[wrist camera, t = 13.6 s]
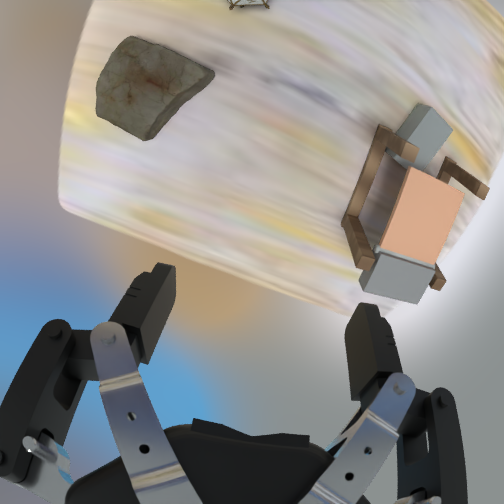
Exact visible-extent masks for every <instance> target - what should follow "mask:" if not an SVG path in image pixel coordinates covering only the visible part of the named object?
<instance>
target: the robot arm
mask: <svg viewBox="0 0 504 504" xmlns="http://www.w3.org/2000/svg"><path fill="white" fill-rule="evenodd" d="M175 297H176V268H175V266H173V265H168V264H164V263H159V262H158V263H157V264H156V265H155V267H154V269H153V270H152V272H151V273H149V272H143V273H141V274H140V275H139V276H137V277H136V278H135V279H134V280H133V282H132V284H131V285H130V288H128V290H127V291H126V293H125V295H124V296H123V298H122V299H121V301H120V303H119V304H118V306H117V307H116V309H115V311H114V312H113V314H112V316H111V318H110V319H109V320H108V322H103V323H101V324H99V325H97V326H96V327H95V328H94V329H93V330H72V329H71V327H70V325H69V323H68V322H66V321H65V320H62V319H55V320H51V321H49V322H47V323H46V324H45V325H44V326H43V328H42V329H41V331H40V332H39V334H38V336H37V338H36V339H35V341H34V342H33V344H32V346H31V348H30V349H29V351H28V353H27V355H26V356H25V358H24V360H23V362H22V364H21V365H20V367H19V369H18V371H17V373H16V375H15V377H14V379H13V381H12V383H11V385H10V387H9V389H8V391H7V393H6V395H5V397H4V400H3V402H2V404H1V406H0V477H1V478H4V479H6V480H7V481H9V482H11V483H13V484H15V485H18V486H20V487H23V488H25V489H27V490H29V491H31V492H32V493H34V494H36V495H37V496H39V497H41V498H42V499H44V500H46V501H48V502H50V503H51V504H370V502H369V501H368V500H367V499H366V497H365V496H364V495H363V493H364V492H365V490H366V489H367V487H368V486H369V485H370V483H371V482H372V480H373V479H374V477H375V476H376V474H377V473H378V471H379V470H380V468H381V466H382V465H383V463H384V461H385V460H386V459H387V457H388V455H389V454H390V452H391V450H392V448H393V447H394V445H395V443H397V467H398V496H397V501H396V502H395V503H394V504H468V500H467V499H468V497H467V480H466V467H465V458H464V450H463V443H462V436H461V430H460V424H459V419H458V414H457V409H456V404H455V400H454V397H453V396H452V394H451V393H450V392H449V391H448V390H447V389H445V388H441V387H440V388H436V389H435V390H434V391H433V392H431V393H428V392H425V391H423V390H420V389H417V388H415V385H414V383H413V381H412V380H411V378H410V377H408V376H407V375H405V374H403V371H402V367H401V363H400V358H399V355H398V351H397V347H396V346H395V344H396V343H395V340H394V338H393V337H394V336H393V332H392V329H391V326H390V325H389V323H388V322H387V320H386V319H385V318H384V317H381V316H380V312H379V309H378V306H377V305H375V304H369V303H362V302H361V303H359V304H358V306H357V308H356V310H355V312H354V314H353V315H352V317H351V319H350V321H349V323H348V324H347V327H346V330H345V346H346V353H347V362H348V370H349V380H350V391H351V400H352V401H360V402H361V406H360V407H359V408H358V409H357V411H356V412H355V414H354V415H353V416H352V418H351V419H350V420H349V422H348V423H347V424H346V426H345V427H344V428H343V429H342V431H341V432H340V433H339V435H338V436H337V437H336V438H335V439H334V440H333V441H332V442H331V443H330V444H329V445H328V446H327V447H326V449H323V448H321V447H319V446H318V445H315V444H313V443H310V442H309V437H310V436H309V435H297V434H285V433H279V434H271V435H261V436H249V435H247V434H244V433H242V432H239V431H237V430H234V429H232V428H229V427H227V426H225V425H223V424H218V423H214V422H209V421H204V420H200V419H195V418H193V422H192V424H184V425H177V426H172V427H169V428H166V429H164V430H163V429H162V427H161V424H160V422H159V420H158V418H157V415H156V413H155V411H154V408H153V406H152V404H151V401H150V399H149V396H148V394H147V391H146V389H145V386H144V383H143V381H142V378H141V376H140V374H139V371H138V366H139V364H140V362H141V363H144V364H147V365H148V364H149V361H150V359H151V356H152V354H153V352H154V349H155V347H156V344H157V342H158V340H159V337H160V335H161V333H162V330H163V328H164V325H165V324H166V321H167V319H168V317H169V314H170V312H171V310H172V307H173V305H174V302H175ZM88 380H91V381H100V386H99V390H100V395H101V398H102V402H103V405H104V409H105V412H106V415H107V418H108V421H109V424H110V427H111V430H112V433H113V436H114V439H115V442H116V445H117V447H118V450H119V452H120V455H121V456H119V457H118V458H116V459H114V460H113V461H111V462H109V463H108V464H106V465H104V466H102V467H100V468H98V469H97V470H95V471H93V472H91V473H89V474H87V475H85V476H84V477H81V478H80V479H78V480H77V481H75V482H74V481H73V480H72V479H71V476H70V473H69V466H70V458H69V455H68V453H67V451H66V450H65V449H64V448H63V444H64V441H65V439H66V436H67V433H68V430H69V427H70V424H71V422H72V419H73V416H74V413H75V411H76V408H77V406H78V403H79V401H80V398H81V396H82V393H83V391H84V388H85V386H86V383H87V381H88ZM426 432H428V441H429V452H428V449H427V440H426Z"/></svg>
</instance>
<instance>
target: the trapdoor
mask: <svg viewBox="0 0 504 504" xmlns="http://www.w3.org/2000/svg"><path fill="white" fill-rule="evenodd" d="M464 194H465V193H463V192H461V191H459V190H457V189H455V188H454V187H452V186H450V185H448V184H446V183H444V182H442V181H440V180H438V179H436V178H434V177H432V176H430V175H428V174H426V173H424V172H422V171H420V170H417V169H415V168H413V167H411V166H408V169H407V172H406V175H405V178H404V181H403V184H402V187H401V189H400V192H399V195H398V197H397V200H396V203H395V205H394V208H393V211H392V213H391V216H390V218H389V221H388V223H387V226H386V228H385V230H384V233H383V235H382V238H381V240H380V242H379V245H378V244H376V245H374V247H373V250H372V252H373V255H374V257H375V261H374V263H373V265H372V267H371V268H370V270H369V271H366V270H363V272H362V274H361V276H360V278H359V283H360V285H361V287H362V290H363V292H367V293H371V294H375V295H379V296H384V297H388V298H392V299H396V300H400V301H404V302H409V303H413V304H418V302H419V301H420V299H421V297H422V296H423V294H424V292H425V290H426V288H427V287H428V285H429V283H430V281H431V279H432V277H433V275H434V274H435V272H436V271H435V270H434V269H435V262H436V260H437V258H438V256H439V254H440V252H441V249H442V247H443V245H444V243H445V241H446V239H447V236H448V234H449V232H450V230H451V227H452V225H453V223H454V220H455V218H456V215H457V213H458V210H459V208H460V205H461V202H462V200H463V197H464Z"/></svg>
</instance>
